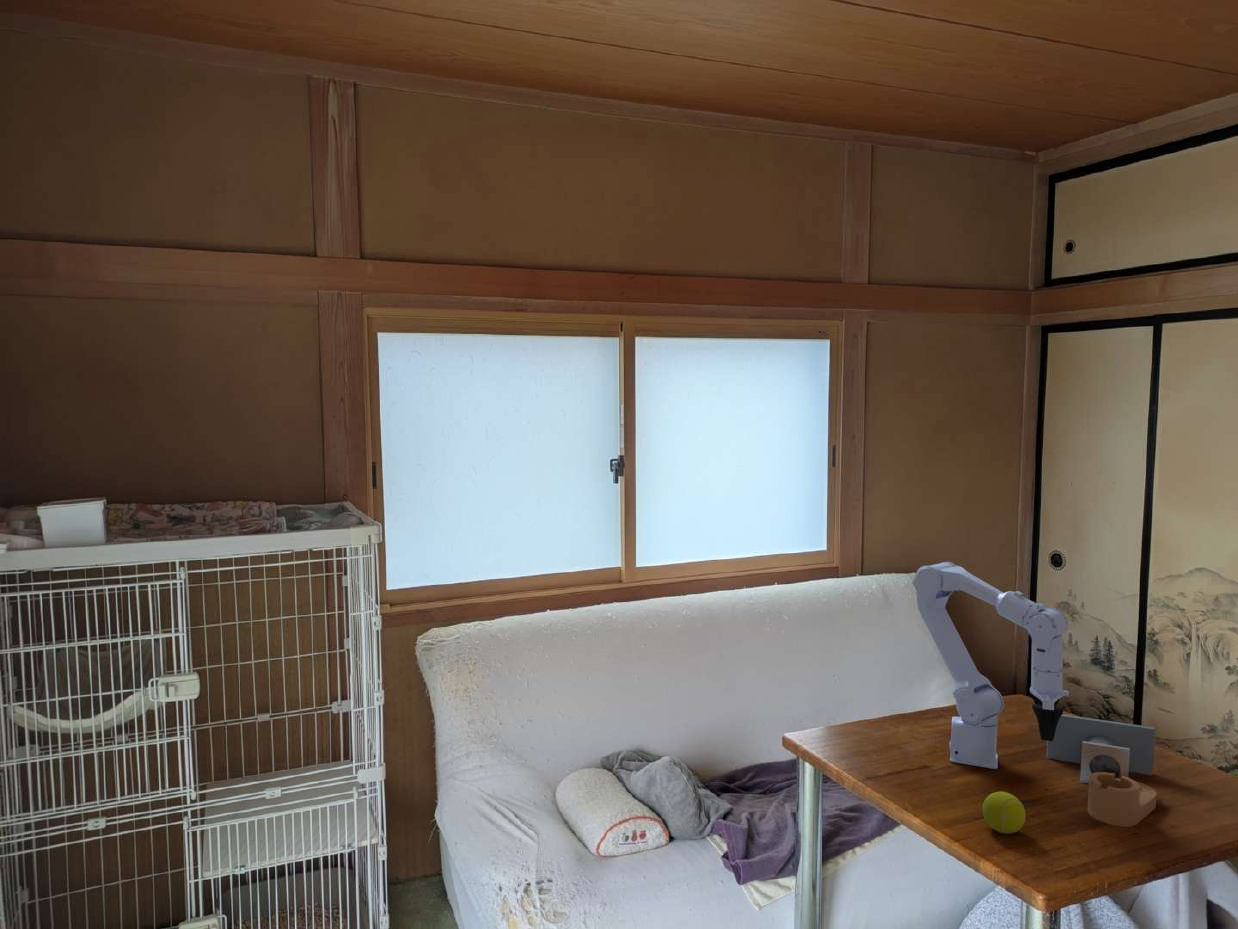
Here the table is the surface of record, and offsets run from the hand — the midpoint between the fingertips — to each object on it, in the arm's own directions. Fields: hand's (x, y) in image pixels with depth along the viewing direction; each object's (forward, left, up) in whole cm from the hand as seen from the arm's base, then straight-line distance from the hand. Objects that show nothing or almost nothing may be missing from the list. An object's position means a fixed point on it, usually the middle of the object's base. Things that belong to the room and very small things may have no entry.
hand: (1046, 734), depth 174 cm
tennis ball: (-8, -26, -11) cm, 29 cm away
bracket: (+13, -6, -11) cm, 18 cm away
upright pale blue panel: (+11, +9, -10) cm, 18 cm away
